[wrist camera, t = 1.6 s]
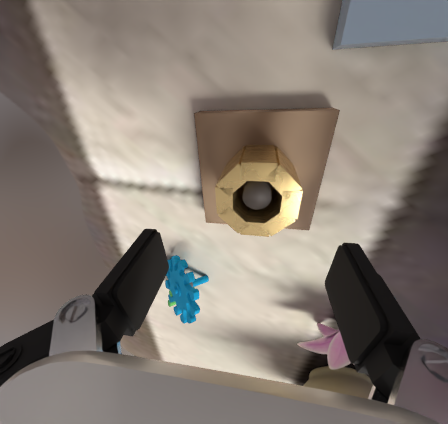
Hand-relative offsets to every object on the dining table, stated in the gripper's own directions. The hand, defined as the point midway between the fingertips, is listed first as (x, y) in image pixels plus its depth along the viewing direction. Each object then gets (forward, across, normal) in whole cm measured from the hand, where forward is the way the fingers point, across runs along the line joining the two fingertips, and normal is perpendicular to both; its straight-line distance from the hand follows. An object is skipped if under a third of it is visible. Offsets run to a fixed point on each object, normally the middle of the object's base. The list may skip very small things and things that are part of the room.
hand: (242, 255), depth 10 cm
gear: (+13, +10, +18) cm, 25 cm away
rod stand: (+13, -1, 0) cm, 13 cm away
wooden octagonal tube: (+11, -1, 0) cm, 11 cm away
